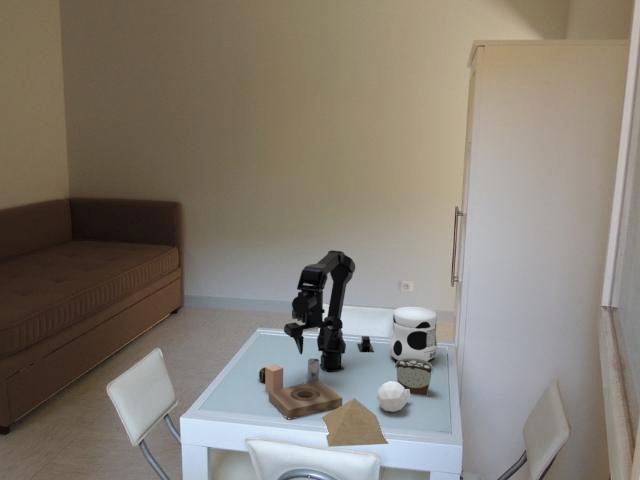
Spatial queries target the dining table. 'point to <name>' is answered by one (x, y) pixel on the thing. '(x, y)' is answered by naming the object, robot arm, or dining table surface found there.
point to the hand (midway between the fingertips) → (313, 351)
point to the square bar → (273, 378)
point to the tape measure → (262, 374)
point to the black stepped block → (365, 345)
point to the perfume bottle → (392, 396)
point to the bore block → (305, 399)
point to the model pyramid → (353, 426)
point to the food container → (414, 375)
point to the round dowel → (313, 370)
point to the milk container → (414, 334)
